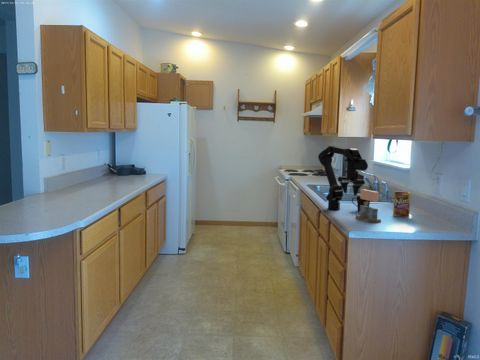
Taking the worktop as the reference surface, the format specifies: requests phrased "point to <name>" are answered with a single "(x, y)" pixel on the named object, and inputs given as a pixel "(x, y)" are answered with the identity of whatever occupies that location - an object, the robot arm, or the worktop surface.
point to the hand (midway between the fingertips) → (350, 194)
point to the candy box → (401, 204)
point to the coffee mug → (361, 202)
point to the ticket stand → (368, 214)
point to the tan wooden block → (369, 195)
